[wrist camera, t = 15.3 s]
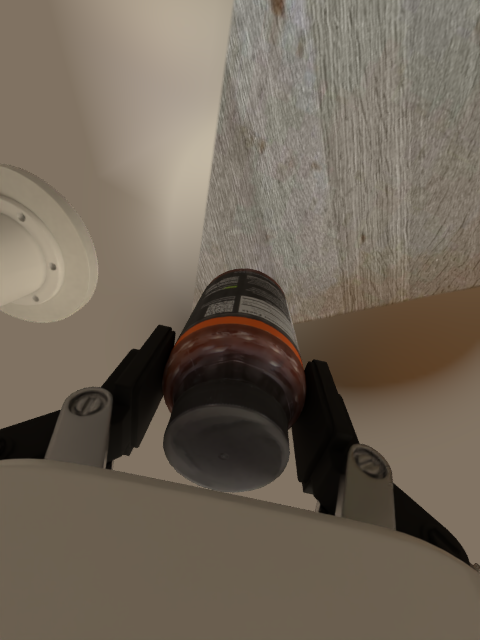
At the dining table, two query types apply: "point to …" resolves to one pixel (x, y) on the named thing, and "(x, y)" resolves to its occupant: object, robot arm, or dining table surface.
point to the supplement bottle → (234, 385)
